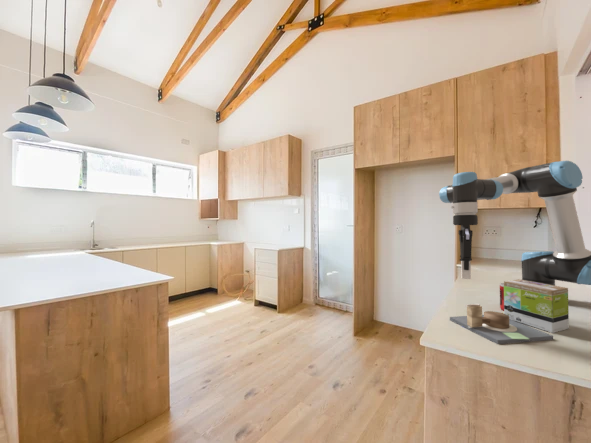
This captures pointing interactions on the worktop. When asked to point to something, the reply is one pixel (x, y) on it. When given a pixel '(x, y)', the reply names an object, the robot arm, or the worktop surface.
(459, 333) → the worktop surface
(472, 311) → the dial
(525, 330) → the tuner board
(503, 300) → the canned food
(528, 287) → the tea box
